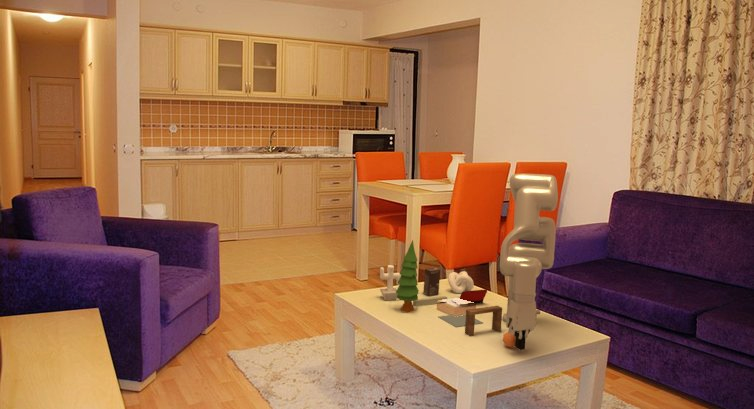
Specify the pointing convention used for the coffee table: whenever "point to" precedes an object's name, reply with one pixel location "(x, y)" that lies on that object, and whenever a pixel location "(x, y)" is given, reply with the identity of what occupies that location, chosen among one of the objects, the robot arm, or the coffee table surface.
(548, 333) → the coffee table surface
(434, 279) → the box
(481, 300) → the handheld game console
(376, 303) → the coffee table surface
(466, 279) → the decorative knot
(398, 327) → the coffee table surface
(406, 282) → the decorative tree
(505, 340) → the ball
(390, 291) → the figurine
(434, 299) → the wall
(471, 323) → the bridge
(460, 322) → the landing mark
